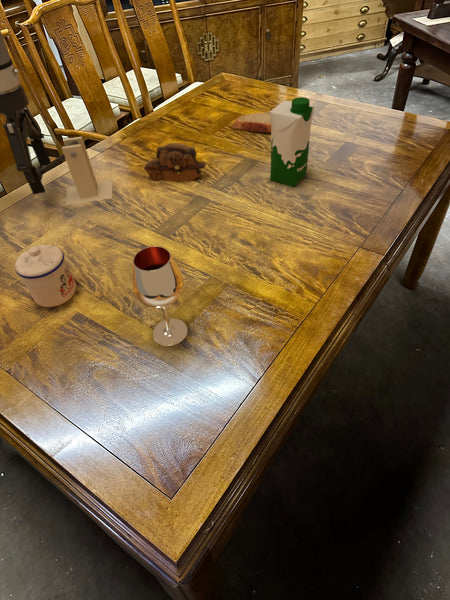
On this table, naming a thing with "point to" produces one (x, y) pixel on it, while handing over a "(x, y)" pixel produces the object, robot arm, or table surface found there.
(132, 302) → the table surface
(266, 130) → the slice of bread
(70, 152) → the tan upright plank
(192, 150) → the wooden carving
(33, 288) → the teacup with lid
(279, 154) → the milk carton
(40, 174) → the lever
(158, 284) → the wineglass
